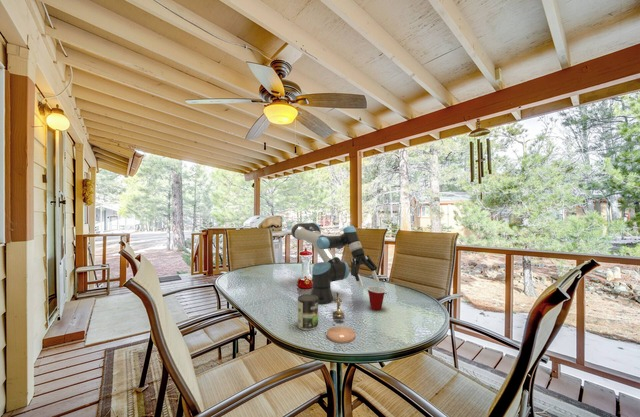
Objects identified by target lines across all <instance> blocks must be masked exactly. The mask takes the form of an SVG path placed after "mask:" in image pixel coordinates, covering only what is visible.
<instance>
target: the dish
mask: <svg viewBox="0 0 640 417" xmlns="http://www.w3.org/2000/svg"><path fill="white" fill-rule="evenodd" d="M326 339H328V340H329V341H330V342H333V343H337V344H346V343H351V342H353V341H354V340H355V339H356V331H355V330H354V329H352V328H350V327H348V326H343V325H342V326H341V325H340V326H332V327H329V328H328V329H327V331H326Z"/></svg>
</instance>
